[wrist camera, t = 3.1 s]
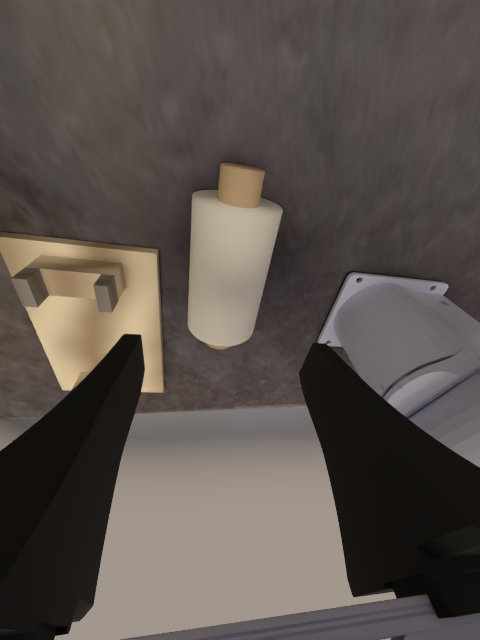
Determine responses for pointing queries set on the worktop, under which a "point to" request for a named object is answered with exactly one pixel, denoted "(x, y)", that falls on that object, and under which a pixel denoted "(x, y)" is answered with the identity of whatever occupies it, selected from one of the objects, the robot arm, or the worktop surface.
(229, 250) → the white cylinder with cap
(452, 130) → the worktop surface
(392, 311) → the robot arm
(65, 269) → the cradle
